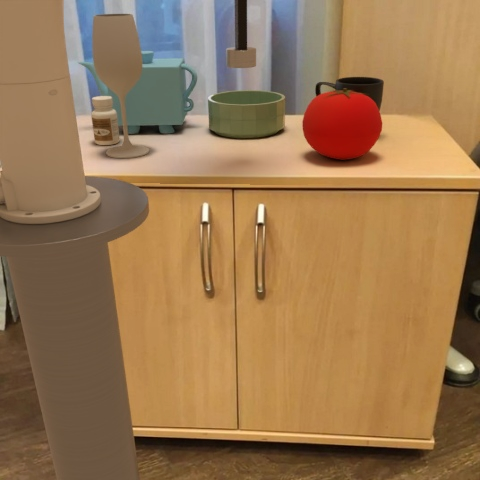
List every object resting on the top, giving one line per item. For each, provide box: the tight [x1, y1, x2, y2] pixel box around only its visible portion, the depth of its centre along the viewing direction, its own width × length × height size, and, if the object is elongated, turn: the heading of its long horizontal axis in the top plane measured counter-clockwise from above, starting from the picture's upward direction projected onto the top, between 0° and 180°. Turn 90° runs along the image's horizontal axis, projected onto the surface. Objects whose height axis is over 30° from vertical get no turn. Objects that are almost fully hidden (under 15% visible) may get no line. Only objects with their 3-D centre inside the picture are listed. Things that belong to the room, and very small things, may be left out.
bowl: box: [207, 89, 286, 139], centre depth 113 cm, size 14×14×6 cm
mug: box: [314, 76, 385, 113], centre depth 107 cm, size 8×12×10 cm
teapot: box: [77, 50, 198, 135], centre depth 114 cm, size 22×11×14 cm, turn 89°
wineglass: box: [91, 13, 150, 159], centre depth 97 cm, size 8×8×21 cm
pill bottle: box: [90, 95, 121, 146], centre depth 106 cm, size 4×4×8 cm
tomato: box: [301, 88, 383, 161], centre depth 95 cm, size 11×12×10 cm
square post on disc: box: [225, 0, 257, 69], centre depth 85 cm, size 4×4×16 cm
